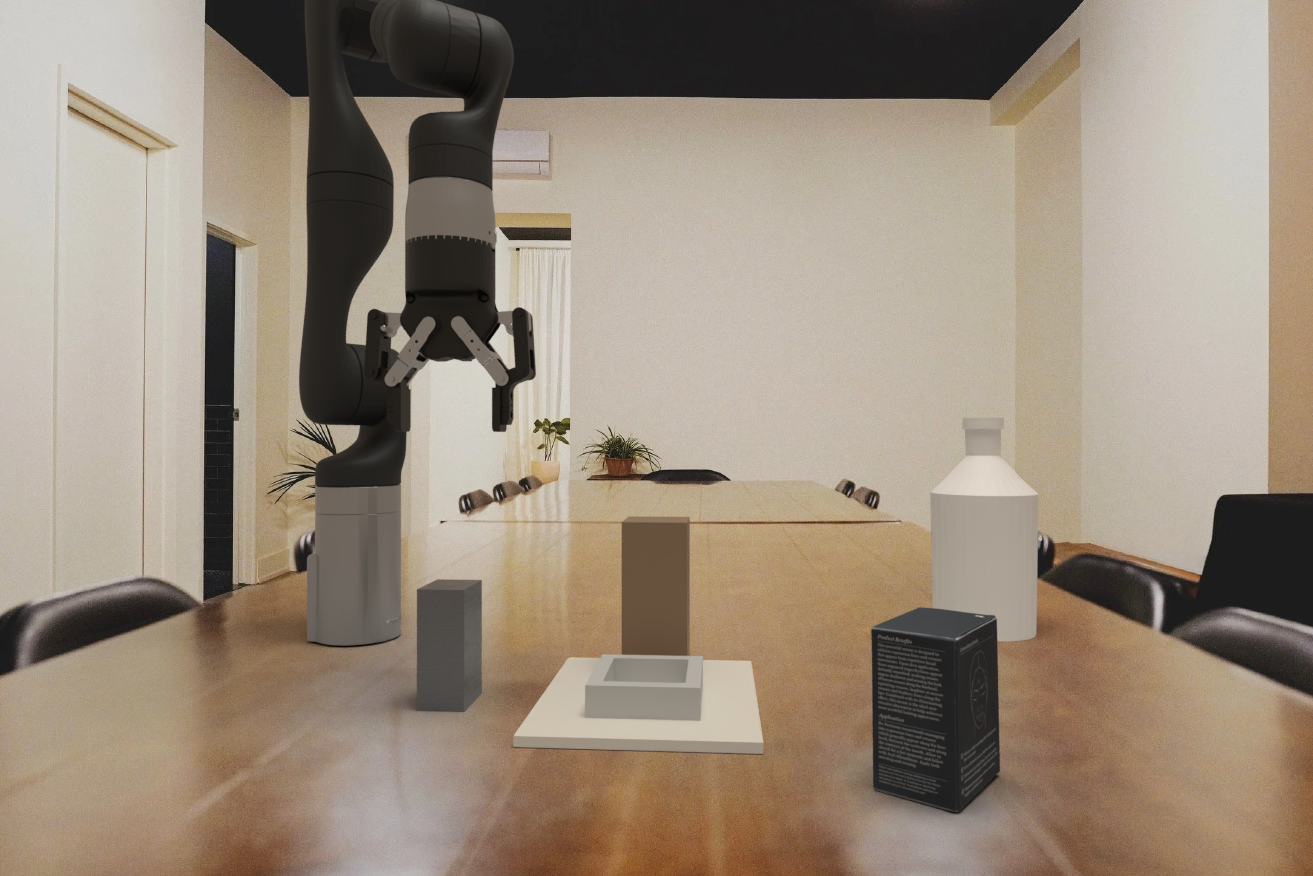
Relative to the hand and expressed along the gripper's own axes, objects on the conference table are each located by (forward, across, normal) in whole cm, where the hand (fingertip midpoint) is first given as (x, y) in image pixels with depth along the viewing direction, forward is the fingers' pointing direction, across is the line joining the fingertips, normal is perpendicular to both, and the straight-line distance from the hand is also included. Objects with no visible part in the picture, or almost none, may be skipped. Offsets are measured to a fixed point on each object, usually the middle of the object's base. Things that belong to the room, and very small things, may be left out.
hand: (450, 431), depth 70 cm
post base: (+23, +17, +1) cm, 29 cm away
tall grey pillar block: (+23, 0, 0) cm, 23 cm away
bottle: (+23, +54, +31) cm, 66 cm away
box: (+23, +37, -14) cm, 46 cm away
